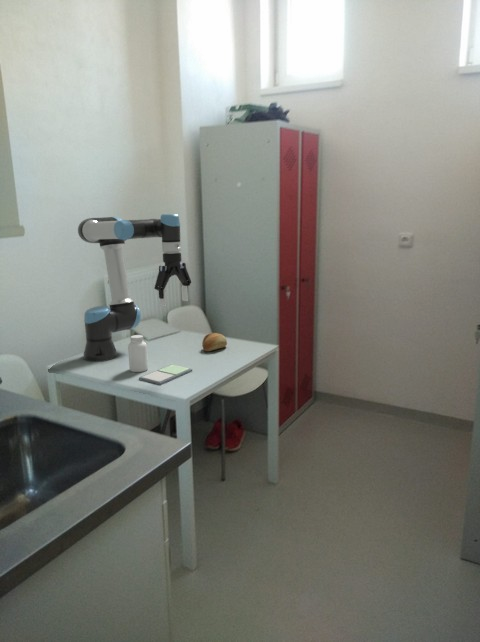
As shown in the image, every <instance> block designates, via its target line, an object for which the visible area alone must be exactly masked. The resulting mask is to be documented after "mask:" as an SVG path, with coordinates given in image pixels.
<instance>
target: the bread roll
mask: <svg viewBox="0 0 480 642" xmlns="http://www.w3.org/2000/svg"><path fill="white" fill-rule="evenodd" d="M201 344H202V345H201V346H202V349H203V351H204V352H211V351H216V350H219V349H223V348H225V347H227V345H228V341H227V338H226V337H225V335H223V334H221V333H218V332H211V333H210V332H209V333H207V334H205V336H204V337H203V339H202V343H201Z"/></svg>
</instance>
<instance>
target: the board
mask: <svg viewBox="0 0 480 642" xmlns="http://www.w3.org/2000/svg"><path fill="white" fill-rule="evenodd" d="M192 372H193V368H190V367H184V366H180V365H175V364H170V365H167V366H164V367H162V368H160V369H157V370H153V371H152V372H149V373H146V374H144V375H142V376H139V377H138V380H140V381H144V382H147V383H152V384H156V385H160V386H162V385H164V384H166V383H168V382H170V381H173V380H175V379H178V378H180V377H182V376H184V375H186V374H188V373H189V374H190V373H192Z"/></svg>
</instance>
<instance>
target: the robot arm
mask: <svg viewBox="0 0 480 642" xmlns="http://www.w3.org/2000/svg"><path fill="white" fill-rule="evenodd" d="M77 234H78V236H79V238H80V239H81V240H82V241H83V242H85V243H89V244H99V248H100V249H101V250H103V253H104V258H105V259H104V261H105V267H106V272H107V279H108V283H109V284H108V285H109V292H110V297H111V301H110V302H109V304H108V305H109V306H108V305H100V306H99V305H98V306H93V307H91V308H89V309H87V310H85V312H84V317H83V318H84V320H83V322H84V329H85V331H84V332H85V339H86V341H85V342H86V343H85V347H84V351H83V359H84V360H86V361H88V362H104V361H108V360H112V359H114V358H116V357H117V356H118V354H117V353H118V351H117V349H116V347H115V344H114V342H113V341H114V340H113V336H112V335H113V333H118V332H122V331H123V332H124V331H129V330H131V329H134V328H135V329H136V328H137V327H138V325H139V324H140V322H141V317H142V315H141V310H140V307H139V306H138V305H137V304H135V301H134V300H133V299H132V298H131V295H130V290H129V283H128V276H127V271H126V265H125V264H126V263H125V257H124V252H123V251H124V249H123V248H124V247H125V245H126V244H125V242H126V241H127V240H134V239H151V238H161V249H162V252H163V253H162V262H163V263H164V265H159V266H158V273H157V277H156V280H155V284H154V290H156V291H158V298H159V305H160V307H165V308H166V307H167V292H166V290H165V289H166V287H167V284H168V282H169V280H170V278H171V277H173V276H176V278H178V281H180V283H181V284H182V285H181V301H182V302H188V301H189V296H188V295H189V287H191V284H192V280H191V277H190V275H189V272H188V269H187V266H186V263H185V262H182V253H181V251H182V248H181V247H182V245H181V222H180V215H178V214H177V213H167V214H164V213H163V214H161V215H160V218H149V219H148V218H147V219H122V218H121V217H114V216H108V217H107V216H106V217H89V218H85V219H83V220H82V221H81V222H80V223H79V224H78V227H77Z"/></svg>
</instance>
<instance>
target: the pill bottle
mask: <svg viewBox="0 0 480 642" xmlns="http://www.w3.org/2000/svg"><path fill="white" fill-rule="evenodd" d="M127 351H128V352H127V353H128V366H129V371H130V372H132V373H142V372H145V371H147V370H148V369H149V360H148V346H147V343H146V342H145V341H144V336H143V335H141V334H135V335H131V336H130V342H129V343H128V344H127Z"/></svg>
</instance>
